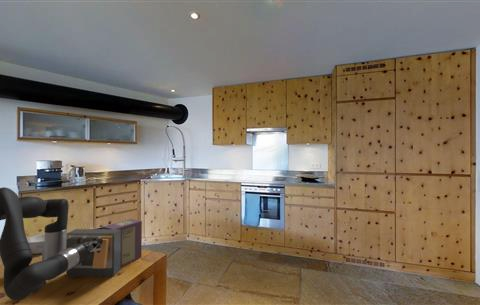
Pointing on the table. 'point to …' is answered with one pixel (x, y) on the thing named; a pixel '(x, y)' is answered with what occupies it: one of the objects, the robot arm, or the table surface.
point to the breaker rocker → (101, 255)
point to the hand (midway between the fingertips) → (100, 240)
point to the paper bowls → (36, 243)
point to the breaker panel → (87, 264)
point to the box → (129, 239)
